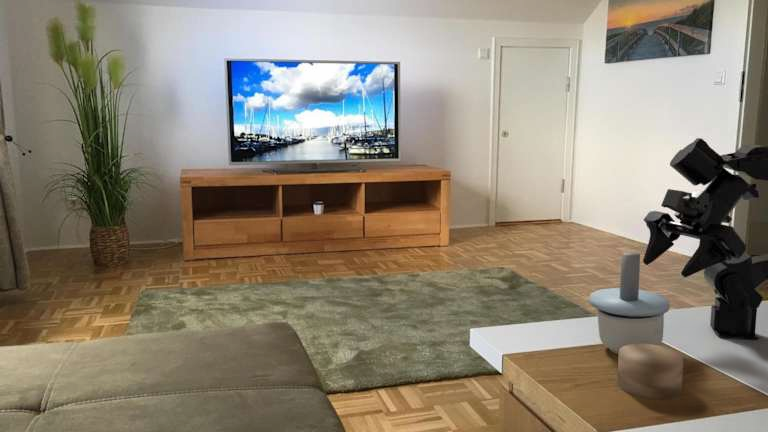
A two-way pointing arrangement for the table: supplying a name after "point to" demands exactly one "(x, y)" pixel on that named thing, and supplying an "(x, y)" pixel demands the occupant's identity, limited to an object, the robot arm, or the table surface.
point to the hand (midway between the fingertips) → (663, 269)
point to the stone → (650, 371)
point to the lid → (629, 293)
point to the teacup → (629, 330)
